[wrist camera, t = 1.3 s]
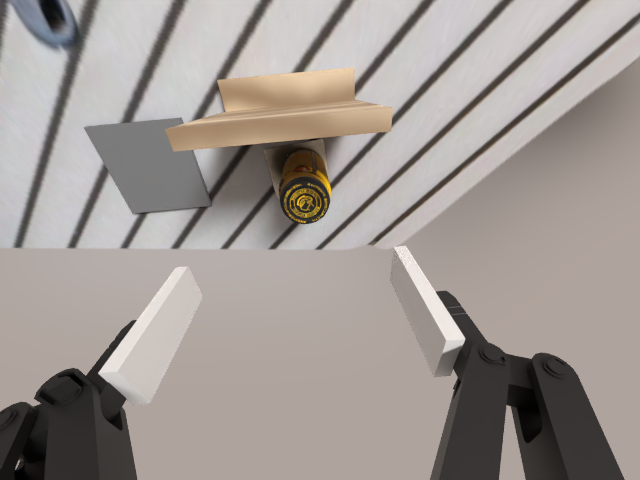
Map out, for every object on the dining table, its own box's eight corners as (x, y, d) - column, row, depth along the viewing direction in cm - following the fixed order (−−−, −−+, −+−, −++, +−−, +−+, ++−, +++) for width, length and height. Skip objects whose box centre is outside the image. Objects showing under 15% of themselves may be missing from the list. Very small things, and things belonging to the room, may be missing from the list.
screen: (219, 80, 28) (141, 72, 15) (352, 68, 28) (397, 48, 15) (231, 126, 31) (174, 155, 17) (353, 114, 31) (390, 134, 17)
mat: (87, 126, 30) (83, 127, 29) (181, 117, 30) (179, 118, 29) (134, 211, 36) (132, 213, 36) (212, 204, 36) (210, 205, 36)
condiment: (330, 188, 36) (340, 226, 26) (276, 197, 37) (266, 239, 26) (323, 138, 32) (331, 160, 22) (263, 149, 33) (244, 176, 23)
